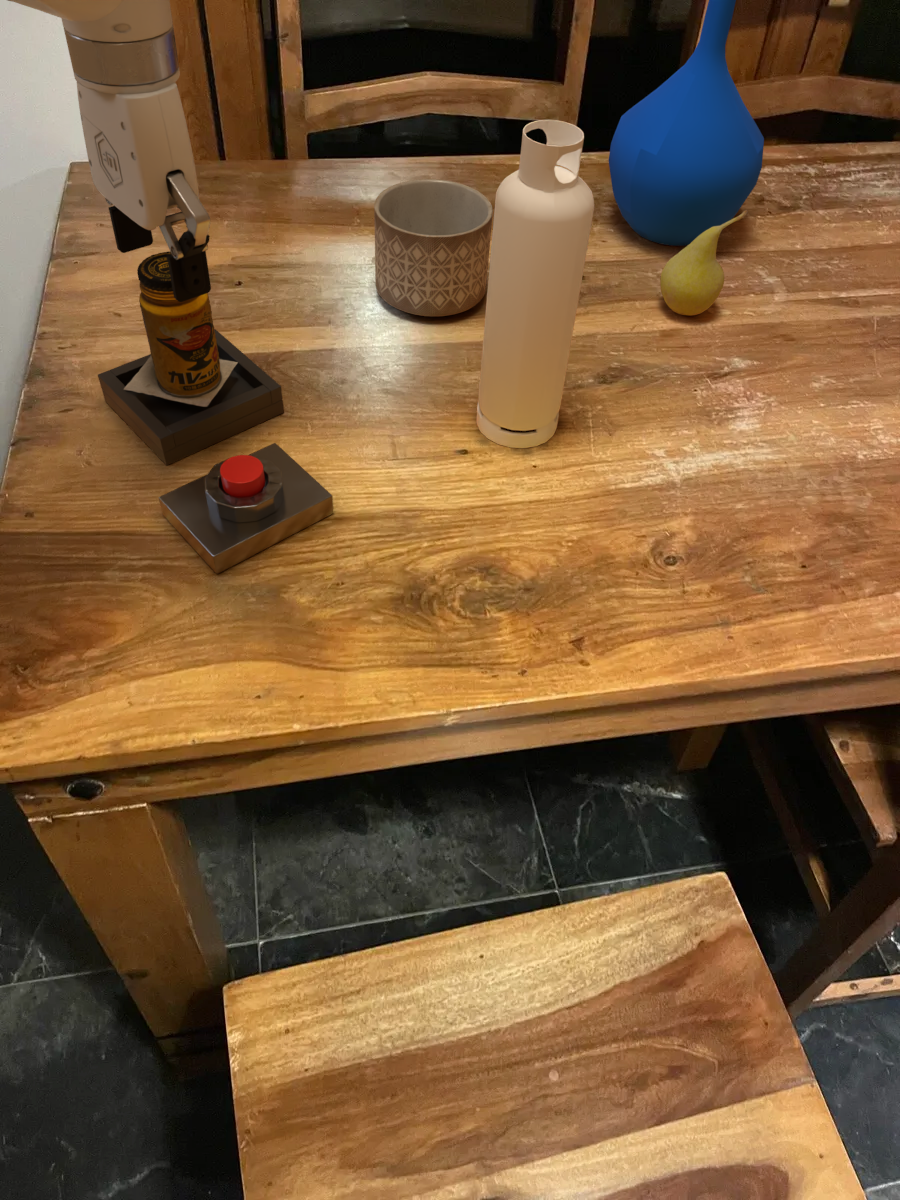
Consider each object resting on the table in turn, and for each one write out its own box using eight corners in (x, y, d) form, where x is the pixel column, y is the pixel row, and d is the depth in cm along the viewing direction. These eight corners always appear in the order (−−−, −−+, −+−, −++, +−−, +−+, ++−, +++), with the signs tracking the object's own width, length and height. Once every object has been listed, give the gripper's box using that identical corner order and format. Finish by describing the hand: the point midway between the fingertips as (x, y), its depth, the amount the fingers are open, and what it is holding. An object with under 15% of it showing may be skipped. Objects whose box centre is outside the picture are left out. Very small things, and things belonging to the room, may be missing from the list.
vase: (760, 262, 116) (850, -14, 93) (617, 266, 113) (674, -15, 91) (713, 191, 127) (783, -69, 105) (583, 194, 125) (625, -72, 102)
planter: (404, 335, 102) (406, 246, 94) (357, 278, 109) (355, 190, 101) (505, 310, 106) (514, 222, 98) (453, 256, 113) (458, 170, 105)
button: (237, 504, 78) (234, 489, 77) (214, 481, 80) (211, 466, 79) (273, 486, 80) (271, 471, 79) (250, 464, 82) (248, 449, 80)
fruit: (648, 293, 110) (672, 194, 101) (710, 293, 111) (739, 194, 101) (662, 326, 106) (688, 225, 96) (726, 325, 106) (758, 224, 97)
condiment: (207, 408, 87) (186, 292, 78) (123, 390, 88) (93, 274, 79) (238, 364, 92) (222, 250, 83) (158, 348, 93) (133, 233, 84)
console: (216, 574, 78) (210, 541, 75) (162, 515, 82) (153, 481, 79) (333, 513, 83) (331, 480, 80) (277, 460, 88) (273, 426, 85)
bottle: (516, 386, 97) (551, 102, 76) (573, 425, 93) (627, 137, 72) (459, 418, 93) (479, 127, 72) (516, 459, 89) (555, 166, 68)
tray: (166, 466, 86) (160, 439, 84) (105, 401, 92) (97, 374, 90) (284, 412, 92) (281, 386, 90) (219, 355, 98) (215, 328, 95)
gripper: (22, 26, 70) (76, 242, 83) (134, 104, 62) (176, 331, 75) (114, 10, 74) (153, 219, 86) (232, 82, 65) (256, 302, 78)
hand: (163, 271), depth 81 cm, fingers open, 9 cm apart
